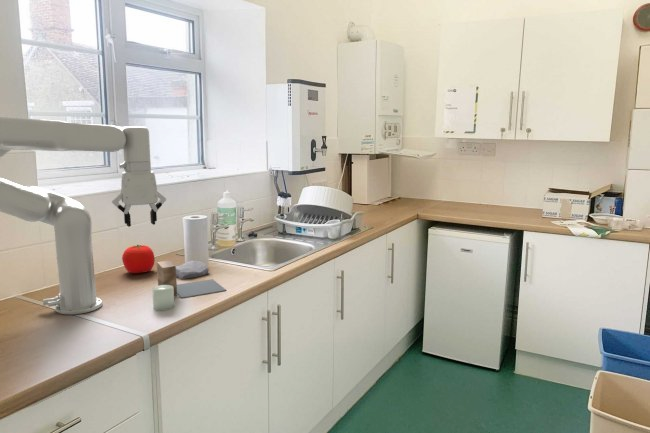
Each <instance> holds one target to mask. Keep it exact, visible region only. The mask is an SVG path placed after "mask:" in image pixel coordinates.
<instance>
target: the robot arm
mask: <svg viewBox="0 0 650 433" xmlns="http://www.w3.org/2000/svg"><path fill="white" fill-rule="evenodd" d="M150 146H151V145H150V130H149V129H148V128H147V127H146V126H137V125H136V126H134V125H133V126H117V125H112V124H110V125H109V124H96V123H95V124H93V123H92V124H91V123H78V122H77V123H76V122H68V121H63V120H54V119H40V118H38V119H37V118H35V119H34V118H23V117H20V118H19V117H2V116H1V117H0V159H2V158H3V157H4V156H5V155H6V154H8V153H9V152H10V151H11V150H16V151H17V150H19V151H24V150H25V151H42V152H43V151H47V152H68V151H69V152H70V151H71V152H72V151H74V152H75V151H77V152H78V151H79V152H103V153H104V152H105V153H116V152H118V151H121V150H123V162H122V163H119V169H123V170H124V171H123V172H122V176H121V184H120V185H121V190H120V191H121V192H120V193H118V195H117V196H115V197H114V198H113V200H112V201H111V203H112V204H113V205H114V206H115V207H116V208H117V209H118V210H120V212H122V213H123V218H124V224H125V225H126V226H127V227H128V228H129V227H131V226H132V222H131V221H132V220H131V214H130V209H131V207H132V206H144V205H149V207H150V212H149V213H150V214H149V215H150V223H151V224H152V225H153V226H154V225H156V222H157V221H158V216H157V212H158V210H160V208H161V207H162V206H163V204H164V203H165V202H166V201H167V198H166V197H165V196H164V195H163V194H161V193H160V192H159V191H158V187H157V185H158V184H157V179H156V175H155V171H152V166H151V163H152V162H151V148H150ZM120 201H121V202H122V203H123V204H124V206H123V205H121V204H120ZM0 213H4V214H6V215H9V216H12V217H15V218H18V219H21V220H24V221H26V222H30V223H31V222H34V223H35V222H41V223H43V224H46V225H47V224H48V225H50V226H53V229H54V240H55V241H54V242H55V254H56V262H57V263H56V264H57V272H58V283H59V292H58V295H56V296H54V297H51V298H50V297H49V298H43V299H42V304H43V306H48V307H53V306H55V312H57V313H58V314H61V315H80V314H84V313H85V314H86V313H89V312H90V313H91V312H93V311H96V310H98V309H99V308H101V307H102V306H103V300H102V299H101V298H99V297H97V291H96V279H95V276H96V275H95V267H94V264H95V263H94V253H93V236H92V233H93V232H92V231H93V226H92V218H91V214H90V212H89V211H88V209H87V208H86V206H84V205H83V204H82V203H81V202H79V201H78V200H75V199H72V198H70V197H68V196H64V195H62V194H59V193H56V192H54V191H51V190H49V189H45V188H43V187H39V186H36V185H25V186H23V185H21V184H19V183H15V182H12V181H11V180H8V179H5V178H2V177H0Z"/></svg>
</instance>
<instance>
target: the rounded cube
mask: <svg viewBox="0 0 650 433" xmlns="http://www.w3.org/2000/svg"><path fill="white" fill-rule="evenodd" d="M152 302H153V303H152V305H153V306H152V307H153V310H156V311H168V310H169V311H170V310H171V309H174V308H175V297H174V288H173V286H171V285H159V286H158V285H156V286H154V287H153V288H152Z"/></svg>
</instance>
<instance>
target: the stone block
mask: <svg viewBox="0 0 650 433" xmlns="http://www.w3.org/2000/svg"><path fill="white" fill-rule="evenodd" d="M175 266H176V278H178V279H181V280H182V279H183V280H184V279H191V278H198V277H202V276H205V275H207V274H208V273H209V267H208V266H207V264H206V263H204V262H202V261H199V260H195V261H193V260H189V261H187V262H184V263H182V264H181V265H175Z"/></svg>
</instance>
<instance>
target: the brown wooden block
mask: <svg viewBox="0 0 650 433" xmlns="http://www.w3.org/2000/svg"><path fill="white" fill-rule="evenodd" d="M176 266H177V265H175V264H174V263H173V262H172V261H170V260H163V261H157V262H156V267H157V268H156V271H157V272H156V274H157V286H159V285H171V286H173V288H174V298H175V297H178V295H177V284H178V283H177V282H178V281H177V277H176Z"/></svg>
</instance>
